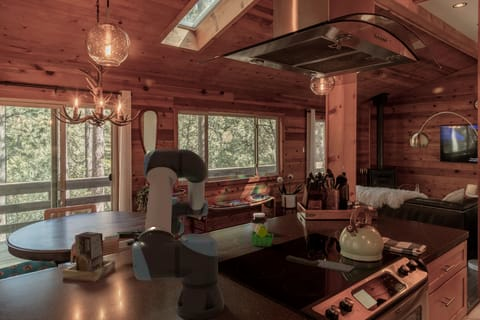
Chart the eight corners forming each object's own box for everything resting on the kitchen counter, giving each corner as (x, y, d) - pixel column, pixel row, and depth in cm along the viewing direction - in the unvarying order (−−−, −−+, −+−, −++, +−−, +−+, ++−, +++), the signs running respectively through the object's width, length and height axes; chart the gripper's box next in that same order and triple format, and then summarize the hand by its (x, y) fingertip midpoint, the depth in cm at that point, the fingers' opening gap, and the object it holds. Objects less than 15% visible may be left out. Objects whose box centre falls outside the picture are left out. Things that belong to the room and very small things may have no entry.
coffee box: (104, 271, 138) (103, 233, 138) (91, 277, 133) (90, 237, 132) (88, 268, 142) (87, 231, 142) (75, 273, 136) (74, 234, 136)
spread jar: (260, 230, 206) (260, 211, 205) (274, 233, 198) (274, 214, 197) (246, 234, 198) (246, 214, 197) (260, 237, 189) (259, 217, 189)
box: (93, 282, 129) (93, 273, 129) (62, 279, 132) (62, 270, 132) (115, 269, 143) (114, 261, 142) (86, 266, 146) (86, 258, 146)
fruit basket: (273, 243, 178) (273, 222, 178) (272, 248, 170) (272, 226, 169) (252, 242, 180) (252, 221, 180) (250, 247, 172) (250, 225, 171)
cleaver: (283, 262, 149) (283, 257, 149) (291, 256, 158) (291, 251, 158) (351, 274, 135) (351, 269, 135) (356, 267, 143) (356, 262, 143)
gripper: (169, 245, 151) (126, 257, 136) (141, 236, 168) (99, 245, 153) (169, 229, 151) (125, 238, 135) (140, 221, 168) (99, 229, 152)
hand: (111, 242), depth 144 cm, fingers open, 13 cm apart
